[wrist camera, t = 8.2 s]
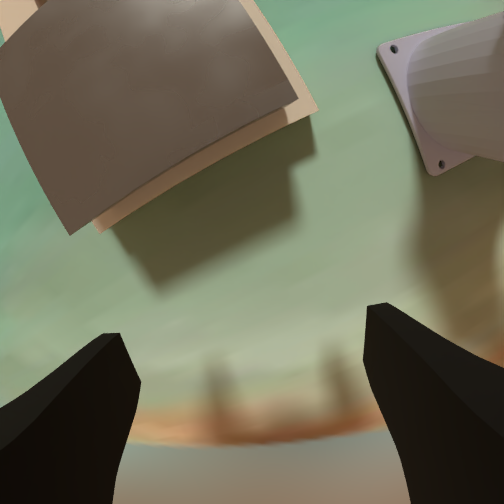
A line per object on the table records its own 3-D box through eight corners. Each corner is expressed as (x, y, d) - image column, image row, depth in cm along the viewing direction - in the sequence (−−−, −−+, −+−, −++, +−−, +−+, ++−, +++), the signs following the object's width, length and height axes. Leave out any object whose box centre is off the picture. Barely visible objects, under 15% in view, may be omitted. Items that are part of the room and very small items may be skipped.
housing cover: (191, -40, 9) (175, -81, 6) (285, 107, 12) (299, 98, 9) (35, 68, 11) (-12, 61, 8) (108, 209, 14) (69, 235, 10)
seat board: (152, -107, 8) (143, -125, 6) (309, 113, 15) (319, 110, 13) (8, -7, 10) (-11, -15, 8) (117, 220, 17) (99, 233, 15)
